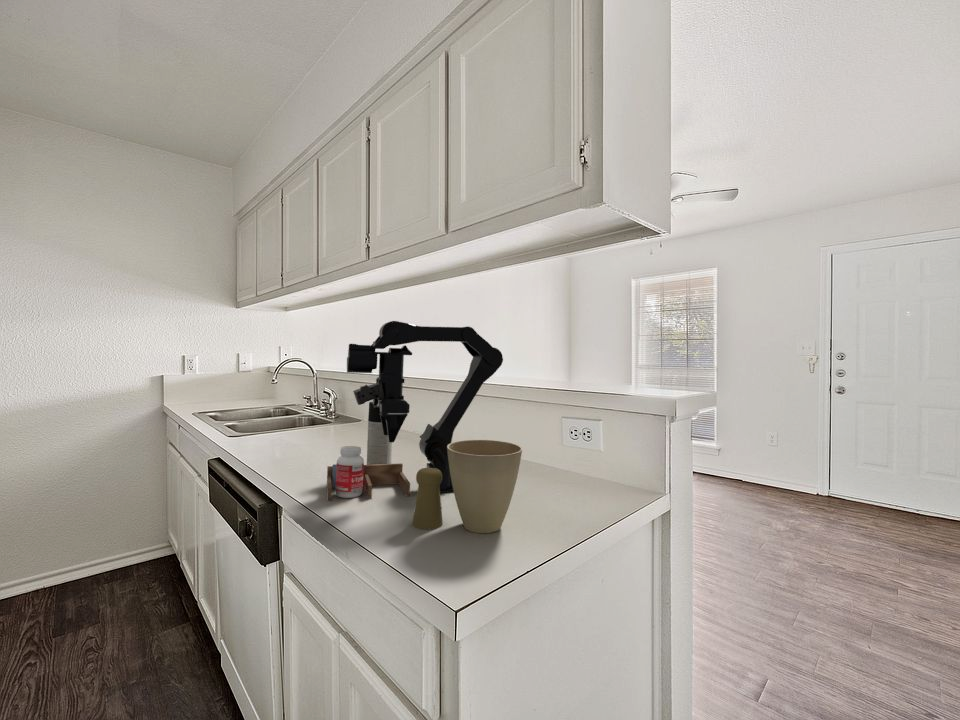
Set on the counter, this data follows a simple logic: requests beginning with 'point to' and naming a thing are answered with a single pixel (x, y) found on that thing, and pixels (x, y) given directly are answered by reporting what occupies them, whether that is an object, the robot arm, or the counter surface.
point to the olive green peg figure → (428, 499)
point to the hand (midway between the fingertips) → (388, 438)
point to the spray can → (377, 440)
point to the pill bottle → (349, 472)
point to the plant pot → (483, 481)
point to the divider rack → (373, 477)
